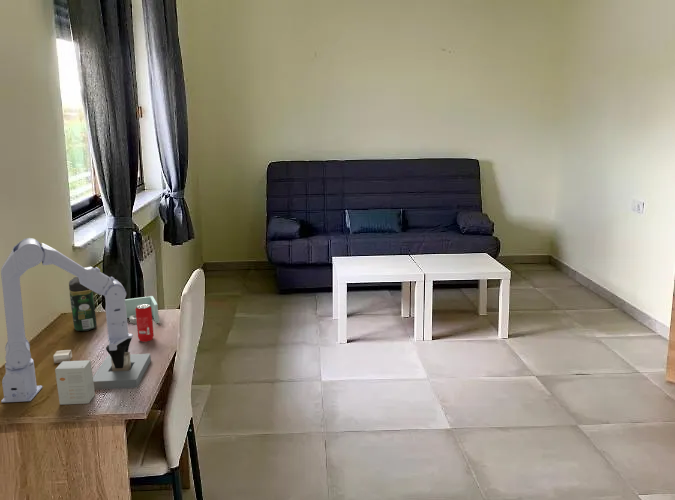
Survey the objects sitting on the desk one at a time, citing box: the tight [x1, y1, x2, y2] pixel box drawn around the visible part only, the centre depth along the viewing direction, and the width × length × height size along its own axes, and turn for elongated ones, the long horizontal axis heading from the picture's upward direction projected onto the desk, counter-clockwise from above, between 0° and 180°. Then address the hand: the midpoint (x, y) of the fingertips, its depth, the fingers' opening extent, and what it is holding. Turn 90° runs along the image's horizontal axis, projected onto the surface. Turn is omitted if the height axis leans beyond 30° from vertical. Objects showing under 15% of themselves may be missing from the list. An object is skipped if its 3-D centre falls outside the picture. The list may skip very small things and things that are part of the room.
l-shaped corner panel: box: [125, 295, 160, 325], centre depth 247 cm, size 12×12×8 cm
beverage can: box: [136, 304, 155, 343], centre depth 227 cm, size 5×5×12 cm
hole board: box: [93, 353, 152, 391], centre depth 199 cm, size 20×13×2 cm, turn 4°
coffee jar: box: [68, 276, 97, 332], centre depth 240 cm, size 10×8×19 cm
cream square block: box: [111, 351, 131, 371], centre depth 198 cm, size 4×4×5 cm
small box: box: [54, 359, 96, 406], centre depth 182 cm, size 8×6×10 cm
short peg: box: [53, 349, 73, 364], centre depth 212 cm, size 4×4×2 cm
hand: (121, 364), depth 199 cm, fingers closed on cream square block, 4 cm apart
